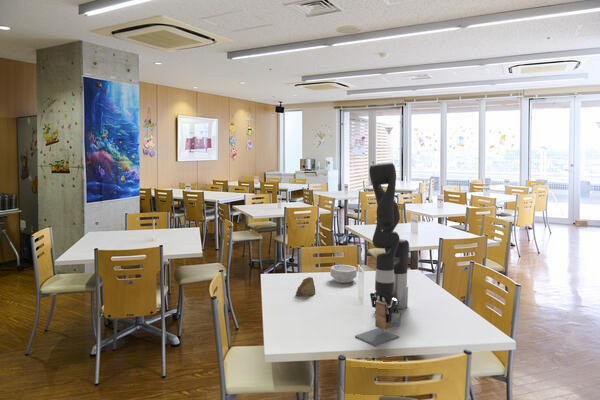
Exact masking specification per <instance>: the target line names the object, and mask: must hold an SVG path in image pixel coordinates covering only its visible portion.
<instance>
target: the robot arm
mask: <svg viewBox="0 0 600 400" xmlns="http://www.w3.org/2000/svg"><path fill="white" fill-rule="evenodd" d="M369 177H370V178H369V179H370V182H371V185H372V189H373V193H374V196H375V200H376V206H377V207H376V223H375V229H374V233H373V236H372V244H373V246H374V248H376V249H384V250H385V252H384V253H383V252H382V253H379V254H377V256H376V262H375V263H376V269H375V278H374V279H375V281H374V282H375V284H374V287H375V288H374V290H375V291H374V292H370V294H369V297H370V302H371V307H372V308H373V309H374V310H376V300H378V301H383V302H384V303H386V305H385V308H386V313H387V314H386V322H387V323H389V322H391V320H392V314H393V313H396V310H397V309H398V310H404V309H406V308H407V306H408V300H409V299H408V298H409V296H408V295H409V286H408V268H409V256H410V255H409V253H410V243H409V241H408V240H407V239H402V238H400V235H399V233H398V232H397V231H394V230H395V229H396V227H398V224H399V222H400V219H401V217H400V216H401V214H400V209H399V205H398V204H397V202H396V201H395V194H396V185H397V170H396V166H395V164H394V163H393V162H382V163H376V164H372V165H370V166H369ZM383 185H387V186H386V190H384V188H383ZM395 259H398V260H399V261H397V262H395ZM391 301H392V302H391ZM388 304H390V305H389V306H387V305H388Z"/></svg>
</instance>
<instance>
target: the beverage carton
mask: <svg viewBox="0 0 600 400" xmlns="http://www.w3.org/2000/svg"><path fill="white" fill-rule="evenodd" d="M400 324H401V313H400V311H399V309H397V310H396V313H393V314H392V320H391V327H400V326H401V325H400ZM399 325H400V326H399Z"/></svg>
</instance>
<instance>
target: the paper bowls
mask: <svg viewBox="0 0 600 400" xmlns="http://www.w3.org/2000/svg"><path fill="white" fill-rule="evenodd" d="M357 270H358V269H357V267H356V266H352V265H348V264H336V265H335V264H334V265H332V266H330V277H332V278H333V279H334V281H335V282H337V283H341V284H348V283H351V282H353V280H354V279H356V277H357Z"/></svg>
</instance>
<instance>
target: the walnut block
mask: <svg viewBox="0 0 600 400" xmlns="http://www.w3.org/2000/svg"><path fill="white" fill-rule="evenodd" d="M391 302H392V301H391ZM385 305H386V303H384V302H383V301H378V300H376V309H375V325H374V326H375V328H380V329H382V330H385V331H386V330H388V329H390V328H392V326H391V322H389V323H387V322H386V314H387V313H386V308H385ZM389 305H390V304H388V305H387V306H389Z"/></svg>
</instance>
